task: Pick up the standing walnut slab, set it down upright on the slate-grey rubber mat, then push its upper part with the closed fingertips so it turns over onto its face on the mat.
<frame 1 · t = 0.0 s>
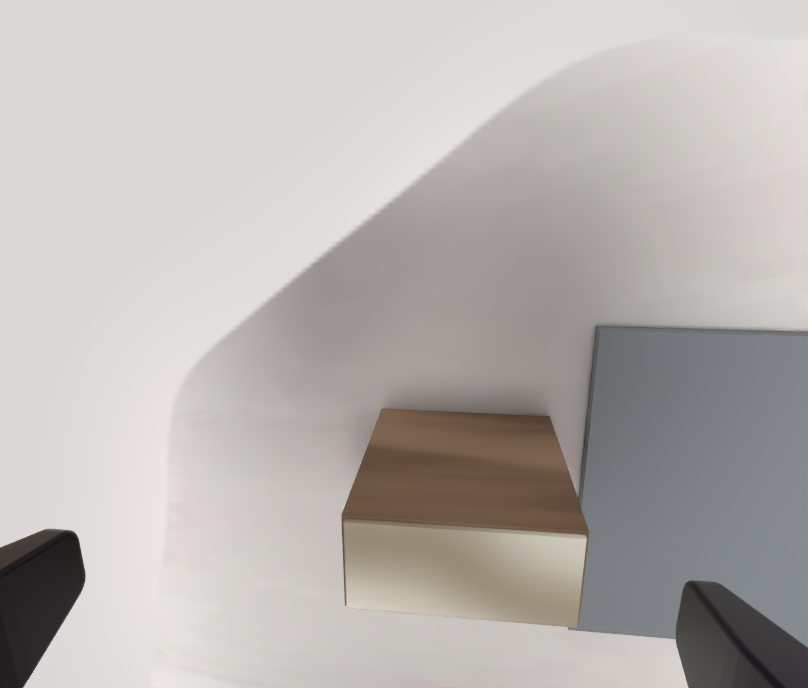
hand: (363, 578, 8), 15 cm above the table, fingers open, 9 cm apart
mat: (716, 493, 23), on the table
walnut slab: (463, 446, 23), on the table
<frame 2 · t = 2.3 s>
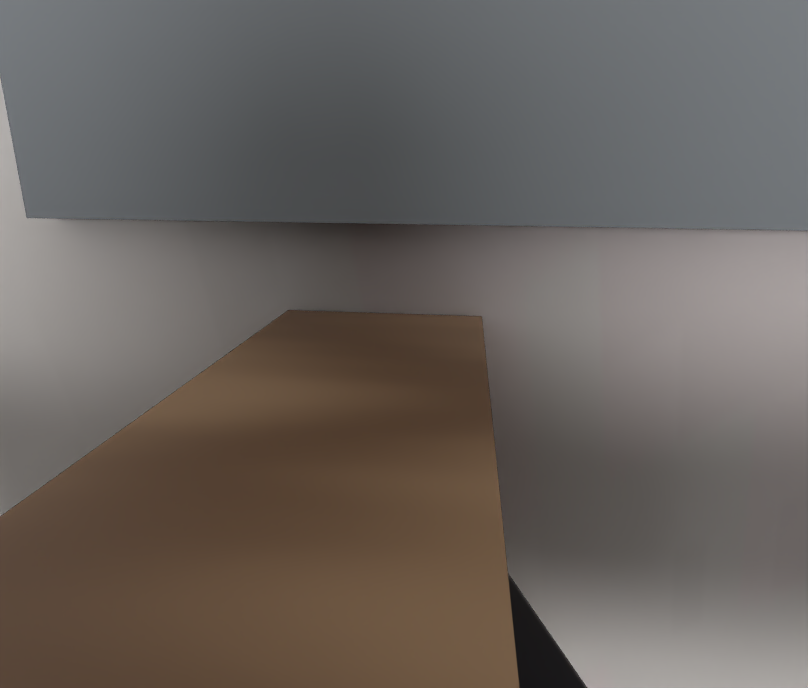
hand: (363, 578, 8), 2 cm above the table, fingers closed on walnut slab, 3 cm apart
walnut slab: (384, 500, 10), on the table, touching gripper
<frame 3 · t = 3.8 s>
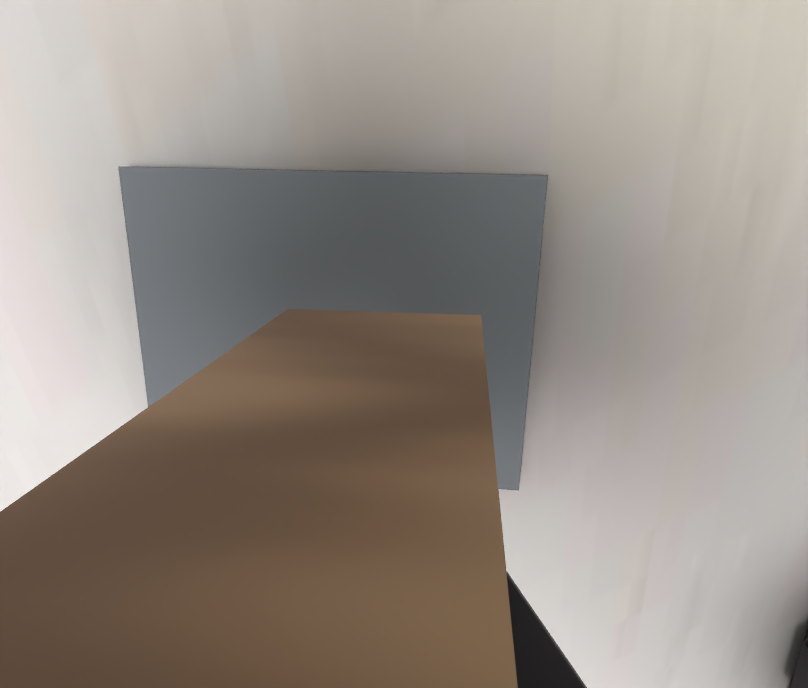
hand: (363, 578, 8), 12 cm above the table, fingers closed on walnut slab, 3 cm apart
mat: (332, 331, 20), on the table
walnut slab: (383, 499, 10), point 10 cm above the table, touching gripper
when the fingers open (4 cm above the table, at t = 5.3 s): walnut slab stays where it is, resting on mat.
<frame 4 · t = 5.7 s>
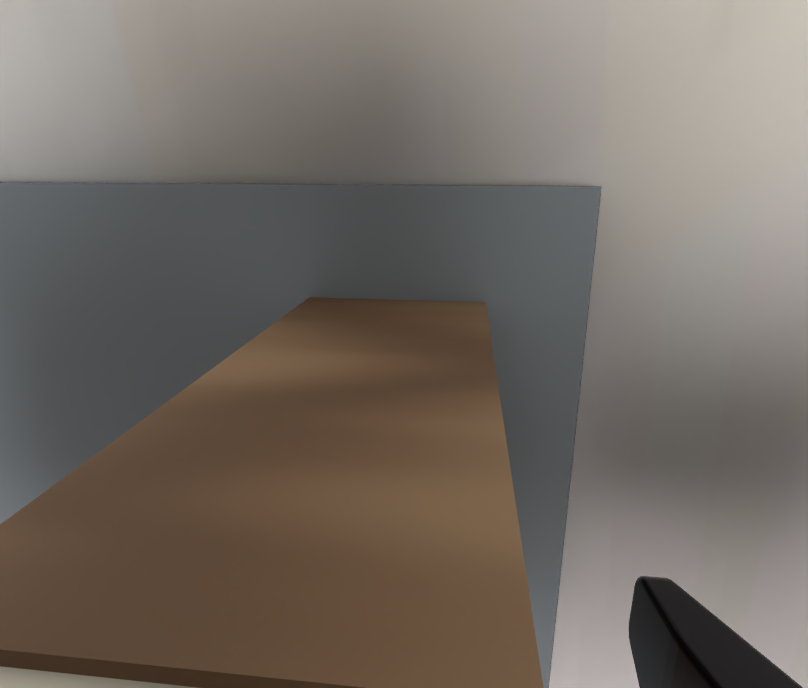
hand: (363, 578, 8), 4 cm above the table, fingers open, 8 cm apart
mat: (232, 448, 12), on the table
walnut slab: (395, 472, 11), point 1 cm above the table, touching mat
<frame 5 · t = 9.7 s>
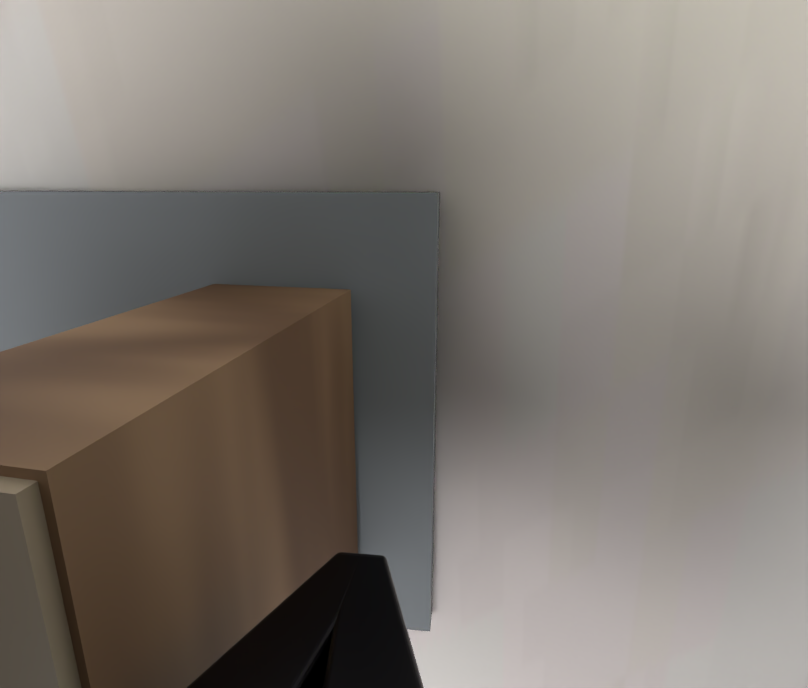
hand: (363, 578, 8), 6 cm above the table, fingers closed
mat: (162, 413, 14), on the table
walnut slab: (289, 433, 13), point 1 cm above the table, tilted 6°, touching gripper, mat
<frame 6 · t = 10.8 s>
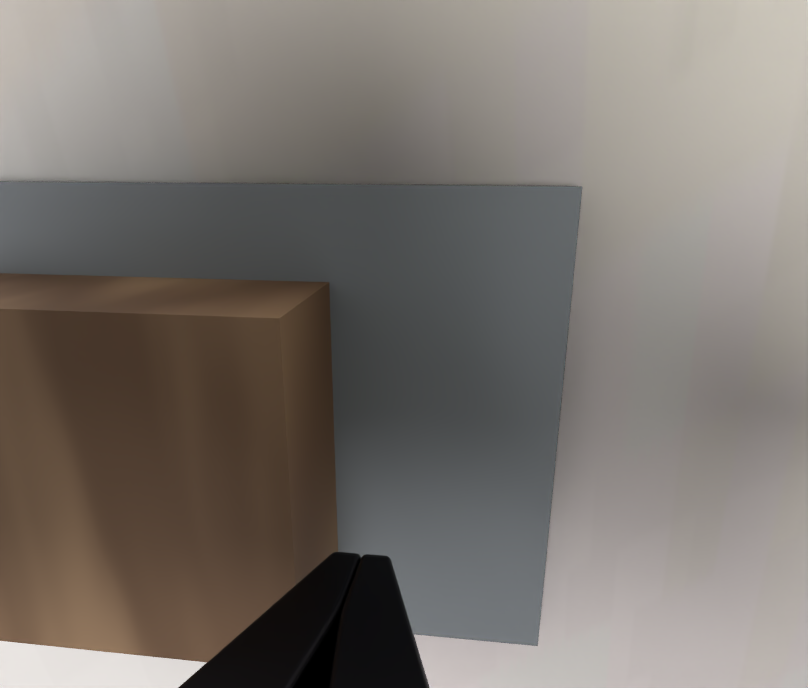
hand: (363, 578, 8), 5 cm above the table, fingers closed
mat: (259, 418, 13), on the table
walnut slab: (315, 467, 11), point 2 cm above the table, tilted 90°, touching mat
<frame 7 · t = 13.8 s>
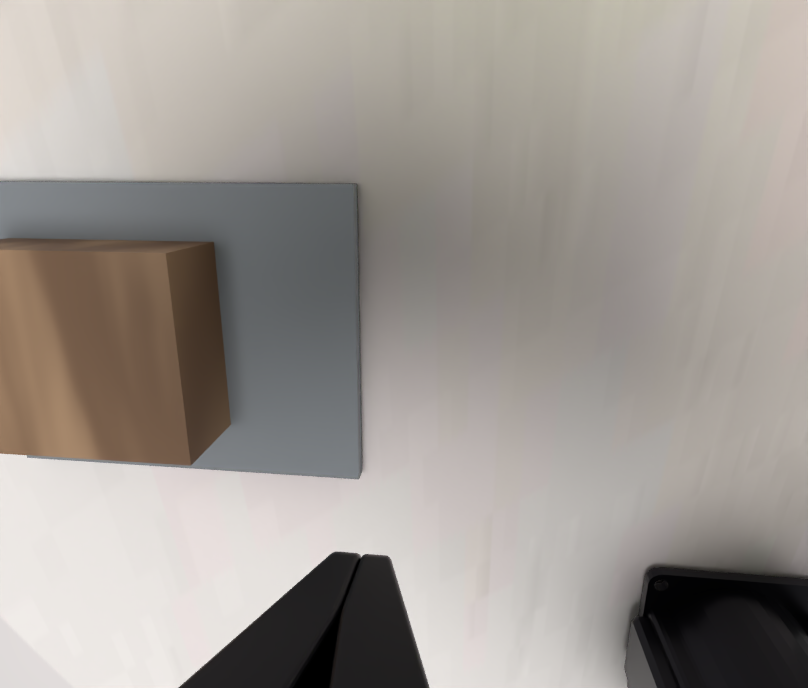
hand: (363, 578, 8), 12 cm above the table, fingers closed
mat: (179, 332, 21), on the table
walnut slab: (202, 350, 19), point 2 cm above the table, tilted 90°, touching mat
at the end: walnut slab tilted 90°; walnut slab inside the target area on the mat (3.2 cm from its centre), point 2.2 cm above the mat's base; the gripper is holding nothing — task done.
